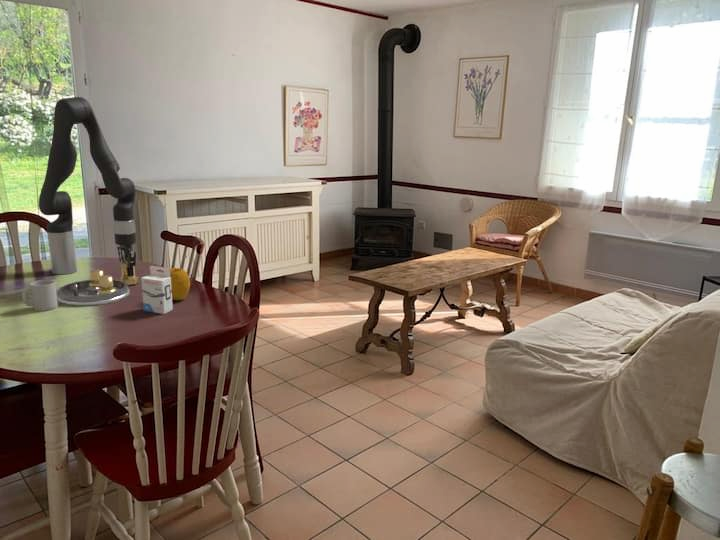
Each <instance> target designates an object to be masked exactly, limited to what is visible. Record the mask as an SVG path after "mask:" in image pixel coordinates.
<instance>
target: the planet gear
mask: <svg viewBox="0 0 720 540" xmlns="http://www.w3.org/2000/svg"><path fill="white" fill-rule="evenodd" d="M130 263H131V262H130ZM133 270H134V276H130V277H129V276H127V266H126V262H122V263H121V262H120V271H121V277H118V280H121V281H124V282H126V283H127V284H128V286H131V285H136V284H137V283H139V282H140V281H139V280H140V279H139V278H140V277H139V276H137V275H136V270H135V266H134V267H133Z"/></svg>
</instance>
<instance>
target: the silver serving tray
mask: <svg viewBox="0 0 720 540" xmlns="http://www.w3.org/2000/svg"><path fill="white" fill-rule="evenodd" d="M89 273H90V279H85V280H79V281H74V282H71V283H67V284H65V285H63V286H60V287H59V289H58V290H57V302H58V304H62V305H65V306H70V307H93V306H94V307H95V306H102V305H107V304H112V303H115V302H119V301H122V300H124V299H126V298H127V297H129V295H130V292H131V291H130V288H129V285H128V284H127V283H126V282H124V281H121V280H119V279H115V278H113V276H112V275H105V274H104V273H105V272H104V269H93V270H90V272H89Z"/></svg>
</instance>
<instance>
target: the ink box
mask: <svg viewBox="0 0 720 540" xmlns="http://www.w3.org/2000/svg"><path fill="white" fill-rule="evenodd" d="M170 269H171V268H170V267H164V266H154V265H150V266H149V272H150V274H148V275H144V276H142V277H140V279H141V291H142V292H141V293H142V306H143V307H142V309H143V312H149V313H155V314H161V315H164V314H165V315H166V314H167V313H169V312H171V311H173V306H174V305H173V299H172V289H171V277H170ZM159 270H160V271H159ZM162 271H163V272H162Z"/></svg>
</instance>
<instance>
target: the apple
mask: <svg viewBox="0 0 720 540" xmlns="http://www.w3.org/2000/svg"><path fill="white" fill-rule="evenodd" d="M169 269H170V277H171V289H172V301H183V300H184V299H185V298H186V297H187V295H188V293H189V292H190V287H191V280H190V276H189V274H188V273H187V271H186V269H183V268H181V267H171V268H169Z"/></svg>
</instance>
